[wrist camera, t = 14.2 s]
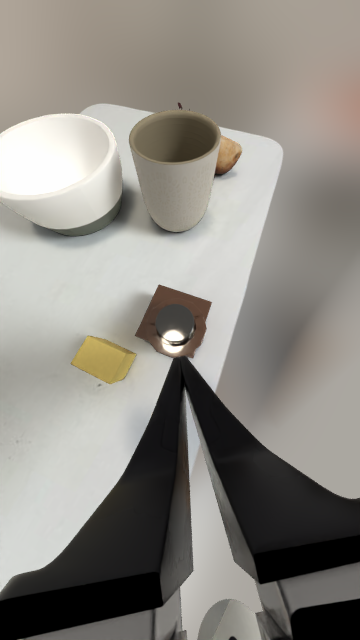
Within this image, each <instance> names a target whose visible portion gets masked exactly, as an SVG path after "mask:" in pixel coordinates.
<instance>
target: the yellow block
mask: <svg viewBox="0 0 360 640" xmlns="http://www.w3.org/2000/svg"><path fill="white" fill-rule="evenodd" d="M135 356H136V354H135V353H133V352H131V351H129V350H127V349H125V348H122V347H120V346H118V345H116V344H114V343H112V342H110V341H108V340H105V339H102V338H97V337H93V336H87V338H86V339H85V341H84V343H83V344H82V346H81V347H80V349H79V351H78V352H77V354H76V356H75V357H74V359H73V360H72V362H71V364H72V365H74V366H76V367H77V368H79V369H81V370H83V371H85V372H87V373H89V374H91V375H93V376H95V377H97V378H99V379H101V380H102V381H104V382H106V383H108V384H112V383H115V382H117V381H120V380H123V379H124V378H125V376H126V374H127V372H128V370H129V368H130V366H131V364H132V362H133V360H134V358H135Z"/></svg>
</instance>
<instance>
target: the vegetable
mask: <svg viewBox="0 0 360 640" xmlns="http://www.w3.org/2000/svg"><path fill="white" fill-rule="evenodd" d="M178 106H179V108H182V106H181V104H180V103H178ZM241 153H242V147H241V146H240V144H238V143H237V142H235V141H232V140H231V139H228V138H226V137H224V136H222V135H221V141H220V147H219V153H218V158H217V163H216V168H215V173H216V174H224V173H227V172H228V171H229V170H230V169H232V167H233V166H234V165H235V164H236V162H237V161H238V159H239V157H240V155H241Z"/></svg>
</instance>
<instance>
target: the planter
mask: <svg viewBox="0 0 360 640" xmlns="http://www.w3.org/2000/svg"><path fill="white" fill-rule="evenodd" d="M220 141H221V132H220V129H219V127H218V126H217V124H216V123H215V122H214V121H213V120H211V119H210V118H208V117H207V116H205V115H202V114H200V113H196V112H192V111H186V110H170V111H163V112H158V113H155V114H152V115H150V116H148V117H146V118H144V119H142V120H141V121H139V122H138V123H137V124H136V125H135V126H134V127H133V129H132V130H131V132H130V136H129V144H130V148H131V152H132V156H133V160H134V164H135V167H136V171H137V175H138V179H139V183H140V187H141V191H142V194H143V198H144V201H145V204H146V207H147V210H148V212H149V214H150V215H151V217H152V219H153V220H154V221H155V222H156V223H157V224H158V225H159V226H160V227H162V228H163V229H166V230H168V231H173V232H181V231H186V230H188V229H190V228H192V227H194V226H195V225H196V224H197V223H198V222H199V221H200V220H201V219H202V217H203V215H204V213H205V211H206V209H207V206H208V203H209V199H210V195H211V190H212V185H213V180H214V174H215V168H216V163H217V158H218V153H219V147H220Z"/></svg>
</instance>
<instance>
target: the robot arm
mask: <svg viewBox="0 0 360 640" xmlns="http://www.w3.org/2000/svg"><path fill="white" fill-rule="evenodd" d="M185 390H186V394H187V397H188V401H189V404H190V408H191V411H192V415H193V418H194V422H195V425H196V429H197V432H198V436H199V439H200V443H201V446H202V450H203V453H204V456H205V460H206V464H207V467H208V471H209V474H210V477H211V481H212V485H213V488H214V492H215V495H216V499H217V502H218V506H219V509H220V513H221V516H222V520H223V523H224V527H225V531H226V534H227V537H228V541H229V545H230V548H231V551H232V555H233V559H234V561H235V563H237V564H238V565H239V566H240V567H241V568H242V569H244V571H246V572H247V573H248V574H249V575H250V576H252V578H253V579H254V580H255V583H256V587H257V590H258V594H259V598H260V601H261V605H262V609H263V611H262V612H258V613H255V615H256V619H257V623H258V627H259V631H260V635H261V639H262V640H360V498H357V499H348V498H344V497H341V496H339V495H336V494H334V493H332V492H331V491H329V490H327V489H326V488H324V487H322V486H321V485H319V484H318V483H317V482H315V481H314V480H312V479H310V478H309V477H308V476H306V475H305V474H303V473H302V472H300V471H299V470H297V469H296V468H294V467H293V466H291V465H290V464H288V463H287V462H285V461H284V460H282V459H281V458H279V457H278V456H277V455H275V454H274V453H272V452H271V451H269V450H268V449H267V448H266V447H265V446H263V445H262V444H261V443H260V442H259V441H258V440H257V439H256V438H255V437H254V436H253V435H252V434H251V433H250V432H249V431H248V430H247V429H246V428H245V427H244V426H243V425H242V424H241V423H240V422H239V420H238V419H236V417H235V416H234V415H233V414H232V413H231V412H230V411H229V410H228V409H227V408H226V407H225V405H224V404H223V403H222V402H221V400H220V399H219V398H218V397H217V395H216V394H215V393H214V392H213V390H212V389H211V388H210V387H209V385H208V384H207V383H206V381H205V380H204V379H203V378H202V376H201V375H200V374H199V372H198V371H197V370H196V369H195V367H194V366H193V365H192V363H191V362H190V361H189V360H188V358H187V357H186V356H181V357H176V358H174V359H173V361H172V364H171V367H170V369H169V372H168V374H167V377H166V380H165V382H164V385H163V388H162V390H161V393H160V395H159V398H158V401H157V403H156V406H155V408H154V411H153V414H152V416H151V418H150V421H149V423H148V425H147V427H146V430H145V432H144V434H143V436H142V438H141V440H140V442H139V444H138V446H137V448H136V450H135V452H134V454H133V456H132V458H131V460H130V462H129V464H128V466H127V468H126V470H125V471H124V473H123V475H122V476H121V478H120V479H119V481H118V482H117V484H116V485H115V486H114V488H113V489H112V490H111V492H110V493H109V494H108V495H107V497H106V498H105V499H104V500H103V502H102V503H101V504H100V505H99V507H98V508H97V509H96V511H95V512H94V513H93V514H92V516H91V517H90V518H89V519H88V521H87V522H86V523H85V524H84V526H83V527H82V528H81V529H80V531H79V532H78V533H77V535H76V536H75V537H74V538H73V540H72V541H71V542H70V543H69V545H68V546H67V547H66V548H65V549H64V550H63V552H62V553H61V554H60V555H59V556H58V557H56V558H55V559H54V560H53V561H52V562H51V563H49V564H48V565H47V566H45V567H44V568H41V569H39V570H35V571H31V572H26V573H22V574H18V575H16V576H14V577H12V578H11V579H10V580H9V582H8V583H7V584H6V586H5V587H4V588H3V589H2V591H1V592H0V640H187V632H186V630H184V631H182V617H181V597H180V586H181V585H182V584H183V582H184V581H185V580H186V579H187V578H188V577H189V575H190V574H191V573H192V572H193V552H192V529H191V508H190V485H189V463H188V440H187V418H186V396H185ZM229 640H237V639H236V638H235V637H234V636H231V637H230V638H229Z"/></svg>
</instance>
